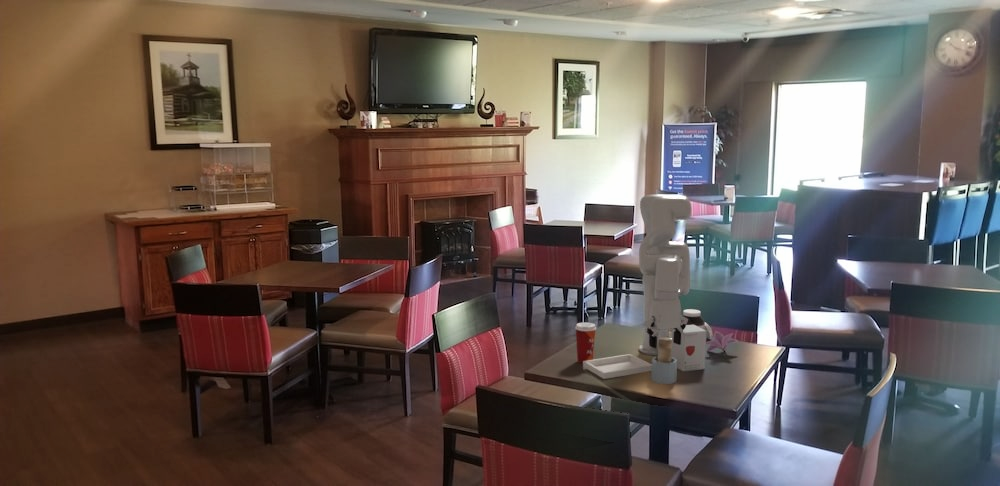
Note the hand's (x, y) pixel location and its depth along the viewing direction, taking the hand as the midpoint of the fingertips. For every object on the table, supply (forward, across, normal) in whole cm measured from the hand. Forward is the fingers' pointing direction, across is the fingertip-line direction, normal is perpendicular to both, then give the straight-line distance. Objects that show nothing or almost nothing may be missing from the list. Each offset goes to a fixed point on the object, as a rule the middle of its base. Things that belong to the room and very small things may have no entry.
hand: (665, 345), depth 243 cm
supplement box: (+13, -16, -9) cm, 23 cm away
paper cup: (+13, +13, -31) cm, 36 cm away
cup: (+13, 0, -1) cm, 13 cm away
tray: (+13, +8, -17) cm, 22 cm away
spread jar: (+12, -43, -37) cm, 58 cm away
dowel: (+12, 0, -1) cm, 12 cm away
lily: (+13, -38, -17) cm, 44 cm away
